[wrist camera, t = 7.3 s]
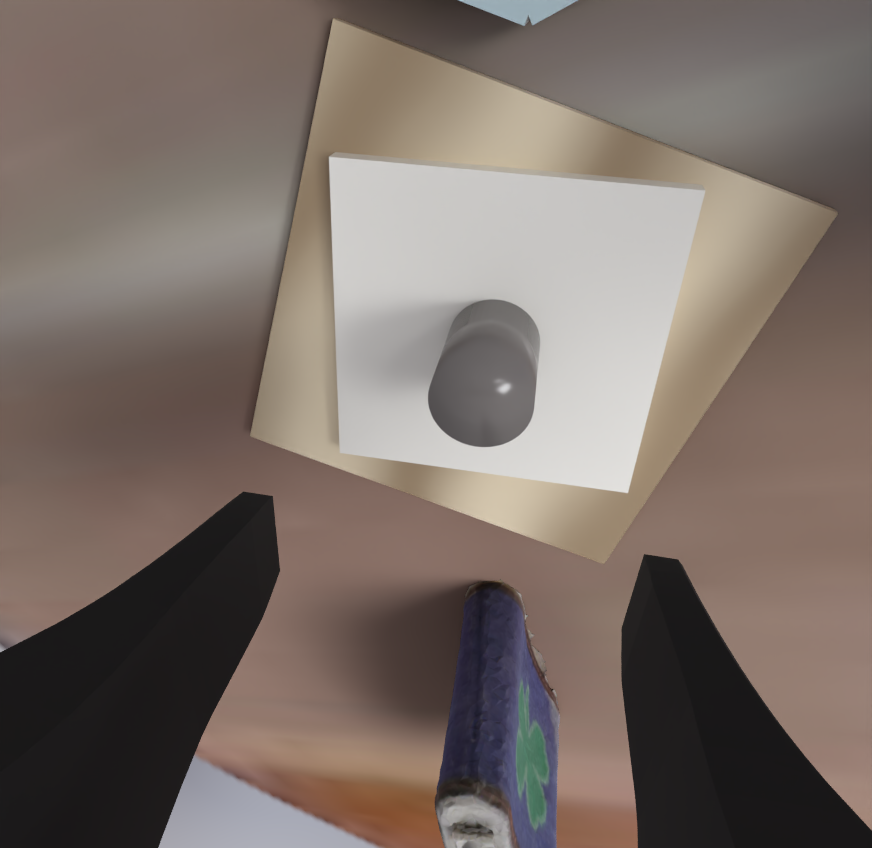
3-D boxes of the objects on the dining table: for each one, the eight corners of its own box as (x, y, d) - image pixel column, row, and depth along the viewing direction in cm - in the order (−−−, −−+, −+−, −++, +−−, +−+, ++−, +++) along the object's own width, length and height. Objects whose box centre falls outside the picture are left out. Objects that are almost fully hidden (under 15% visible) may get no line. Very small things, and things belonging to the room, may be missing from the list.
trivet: (833, 208, 18) (838, 213, 18) (603, 556, 26) (603, 564, 26) (337, 17, 18) (333, 18, 18) (254, 430, 26) (249, 436, 26)
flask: (566, 719, 32) (562, 1003, 23) (505, 721, 33) (478, 995, 24) (518, 574, 28) (489, 856, 19) (448, 581, 29) (389, 854, 20)
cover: (701, 184, 18) (731, 234, 15) (626, 482, 24) (635, 569, 20) (335, 151, 19) (282, 191, 16) (344, 443, 25) (307, 519, 22)
